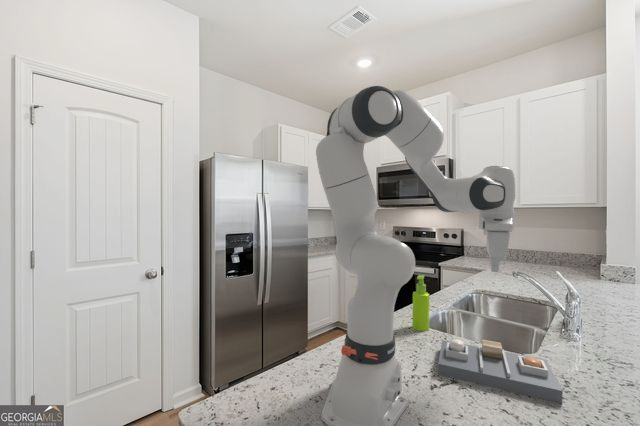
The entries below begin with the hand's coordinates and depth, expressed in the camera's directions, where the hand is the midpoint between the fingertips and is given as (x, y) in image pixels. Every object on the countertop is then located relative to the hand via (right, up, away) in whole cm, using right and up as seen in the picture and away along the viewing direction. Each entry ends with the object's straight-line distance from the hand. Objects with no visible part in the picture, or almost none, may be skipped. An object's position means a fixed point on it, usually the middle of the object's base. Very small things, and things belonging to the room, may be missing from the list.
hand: (494, 271), depth 86 cm
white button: (-11, -23, 0) cm, 25 cm away
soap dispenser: (-13, -27, +26) cm, 39 cm away
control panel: (-3, -27, -4) cm, 28 cm away
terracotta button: (+5, -24, -8) cm, 26 cm away
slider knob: (-1, -24, 0) cm, 24 cm away
